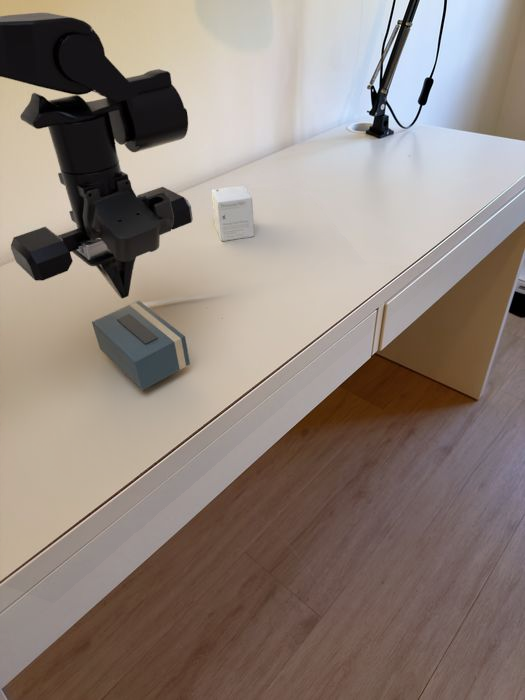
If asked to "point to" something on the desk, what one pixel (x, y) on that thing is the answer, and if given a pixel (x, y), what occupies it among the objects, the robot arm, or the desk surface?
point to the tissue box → (141, 344)
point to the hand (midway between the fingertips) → (123, 296)
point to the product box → (233, 213)
